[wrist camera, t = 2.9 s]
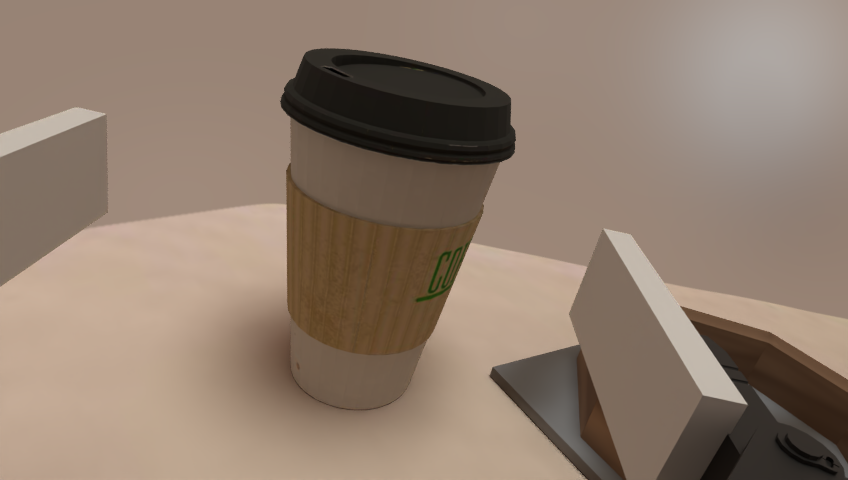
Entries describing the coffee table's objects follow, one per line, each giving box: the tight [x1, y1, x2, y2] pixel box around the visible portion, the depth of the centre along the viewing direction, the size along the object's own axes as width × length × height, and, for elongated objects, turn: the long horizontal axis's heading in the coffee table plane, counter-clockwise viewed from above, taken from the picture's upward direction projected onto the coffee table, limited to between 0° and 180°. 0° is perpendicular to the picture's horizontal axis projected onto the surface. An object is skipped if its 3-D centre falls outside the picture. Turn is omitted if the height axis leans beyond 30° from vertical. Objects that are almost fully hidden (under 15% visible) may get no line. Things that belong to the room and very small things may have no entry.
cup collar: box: [490, 306, 848, 480], centre depth 29 cm, size 18×18×4 cm
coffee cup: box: [280, 49, 516, 410], centre depth 26 cm, size 10×10×15 cm
